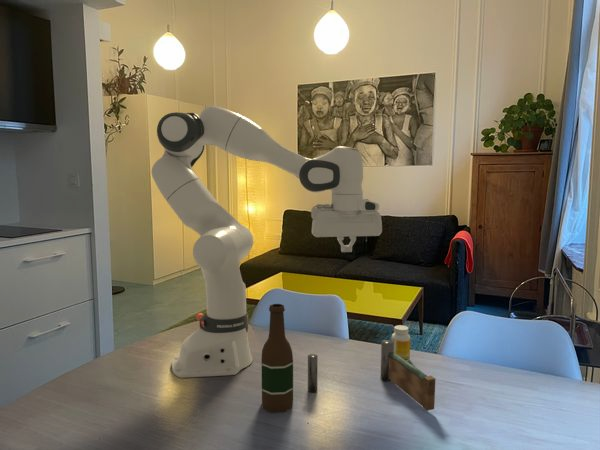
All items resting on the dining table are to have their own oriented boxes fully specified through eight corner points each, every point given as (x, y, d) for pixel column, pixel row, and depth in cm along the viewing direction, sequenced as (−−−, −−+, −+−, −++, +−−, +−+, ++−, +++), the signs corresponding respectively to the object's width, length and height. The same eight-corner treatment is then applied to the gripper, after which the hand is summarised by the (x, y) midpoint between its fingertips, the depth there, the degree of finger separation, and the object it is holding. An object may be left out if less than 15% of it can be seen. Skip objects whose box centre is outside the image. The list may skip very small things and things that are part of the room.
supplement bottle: (387, 358, 134) (387, 326, 132) (398, 354, 137) (399, 323, 136) (401, 364, 129) (402, 332, 128) (413, 359, 133) (414, 327, 132)
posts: (389, 375, 123) (390, 339, 121) (395, 380, 120) (396, 343, 118) (305, 388, 115) (305, 350, 114) (310, 394, 112) (310, 355, 111)
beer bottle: (268, 417, 102) (267, 312, 99) (255, 401, 109) (254, 303, 106) (299, 408, 105) (299, 307, 103) (285, 394, 112) (284, 298, 109)
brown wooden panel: (387, 378, 118) (388, 351, 117) (394, 377, 119) (395, 350, 118) (426, 410, 102) (427, 379, 101) (434, 409, 103) (435, 378, 102)
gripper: (313, 205, 126) (313, 254, 128) (384, 204, 129) (383, 252, 131) (309, 203, 132) (309, 250, 134) (377, 202, 135) (376, 249, 137)
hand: (346, 251), depth 133 cm, fingers closed
